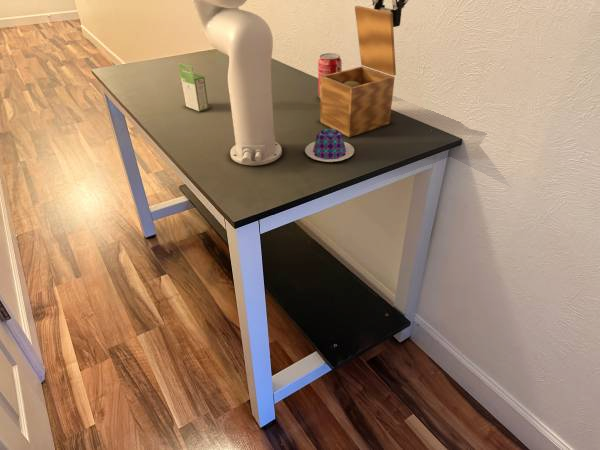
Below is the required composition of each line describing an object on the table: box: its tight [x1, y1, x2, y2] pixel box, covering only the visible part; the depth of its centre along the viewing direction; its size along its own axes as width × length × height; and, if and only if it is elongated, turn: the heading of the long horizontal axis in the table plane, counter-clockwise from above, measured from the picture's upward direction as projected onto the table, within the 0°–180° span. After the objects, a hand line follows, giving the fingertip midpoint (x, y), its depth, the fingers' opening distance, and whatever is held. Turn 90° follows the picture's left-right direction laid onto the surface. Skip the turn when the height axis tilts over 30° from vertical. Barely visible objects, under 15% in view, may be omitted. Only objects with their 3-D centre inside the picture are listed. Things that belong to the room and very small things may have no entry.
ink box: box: [177, 62, 210, 112], centre depth 125 cm, size 7×4×13 cm, turn 47°
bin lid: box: [354, 5, 397, 77], centre depth 108 cm, size 15×13×6 cm
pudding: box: [304, 128, 355, 163], centre depth 101 cm, size 12×12×5 cm
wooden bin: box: [319, 65, 395, 138], centre depth 113 cm, size 15×13×13 cm
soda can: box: [317, 52, 343, 100], centre depth 129 cm, size 7×7×13 cm
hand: (386, 23), depth 106 cm, fingers closed on bin lid, 5 cm apart
